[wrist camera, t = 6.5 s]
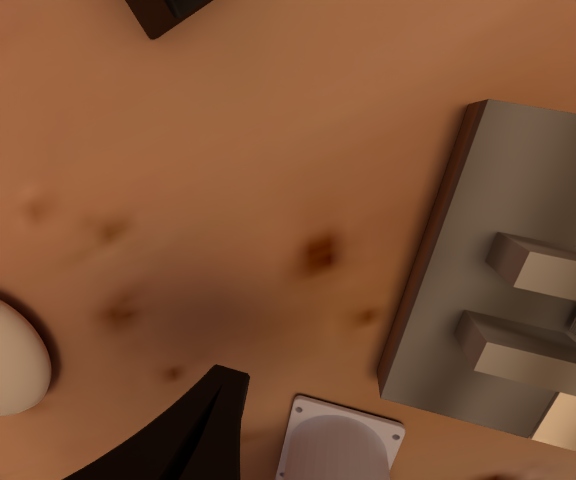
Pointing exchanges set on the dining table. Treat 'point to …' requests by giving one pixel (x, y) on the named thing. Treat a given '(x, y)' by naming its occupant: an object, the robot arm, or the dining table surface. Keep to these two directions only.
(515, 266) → the door and jamb
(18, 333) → the flower in vase
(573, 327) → the bolt
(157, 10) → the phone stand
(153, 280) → the dining table surface
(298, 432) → the robot arm
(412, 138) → the dining table surface
